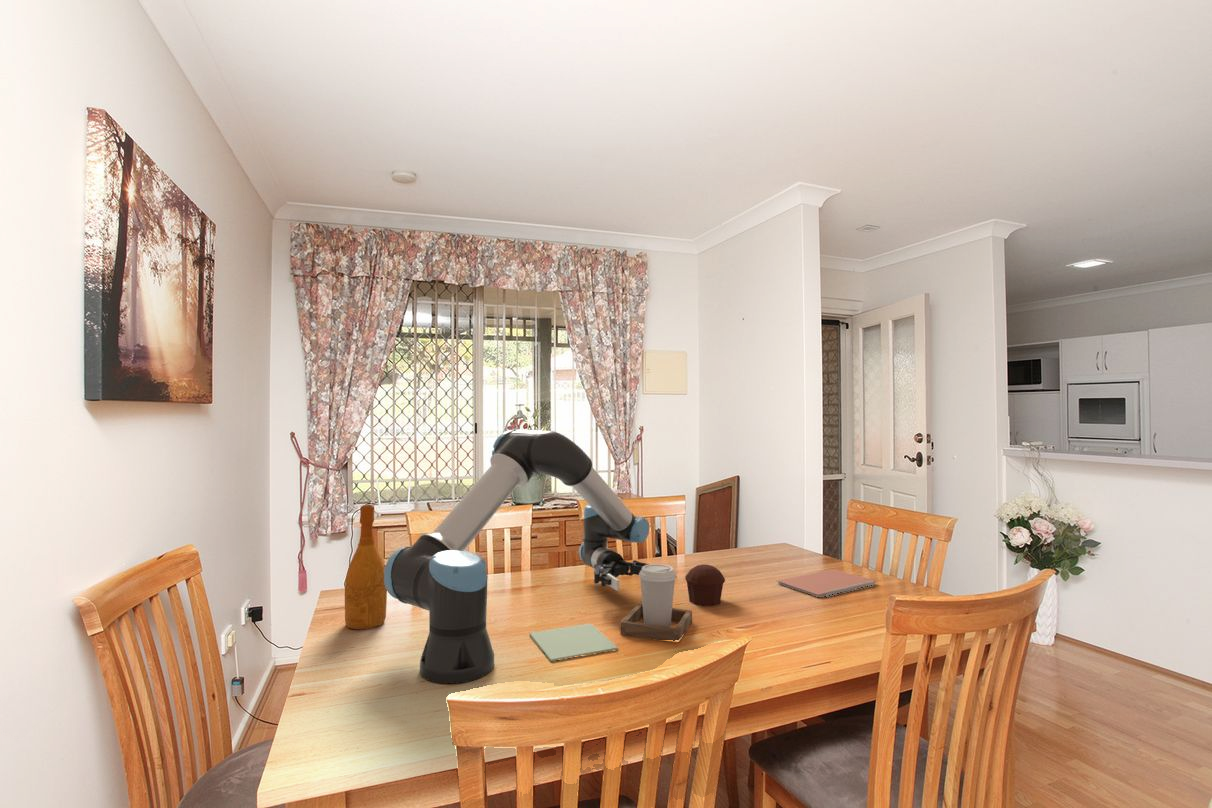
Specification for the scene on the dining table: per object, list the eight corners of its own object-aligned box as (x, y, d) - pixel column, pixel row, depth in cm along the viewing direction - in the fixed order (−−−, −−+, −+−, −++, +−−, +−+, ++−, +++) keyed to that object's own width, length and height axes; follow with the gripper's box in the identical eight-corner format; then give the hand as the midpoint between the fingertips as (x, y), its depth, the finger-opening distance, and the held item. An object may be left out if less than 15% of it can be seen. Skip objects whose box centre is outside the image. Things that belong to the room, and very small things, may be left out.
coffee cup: (645, 637, 139) (645, 574, 139) (633, 623, 148) (633, 564, 148) (682, 633, 141) (682, 572, 141) (668, 619, 150) (668, 562, 151)
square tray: (678, 643, 135) (678, 630, 135) (620, 634, 140) (620, 622, 140) (691, 622, 149) (692, 610, 149) (638, 614, 154) (638, 603, 154)
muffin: (694, 592, 173) (694, 559, 173) (730, 598, 168) (730, 564, 168) (678, 603, 163) (678, 568, 163) (716, 611, 157) (716, 574, 158)
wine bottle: (393, 617, 150) (394, 502, 150) (374, 632, 140) (376, 508, 141) (357, 616, 151) (358, 501, 151) (336, 630, 141) (337, 507, 142)
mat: (617, 650, 131) (617, 647, 131) (550, 662, 125) (550, 659, 125) (590, 625, 146) (590, 623, 146) (529, 635, 139) (529, 632, 139)
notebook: (821, 601, 168) (821, 594, 168) (776, 586, 182) (776, 579, 182) (879, 587, 182) (879, 581, 182) (833, 574, 196) (833, 568, 196)
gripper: (644, 570, 177) (681, 590, 158) (568, 580, 167) (597, 602, 148) (645, 546, 177) (681, 563, 158) (568, 554, 167) (598, 573, 148)
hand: (641, 582), depth 153 cm, fingers open, 13 cm apart
